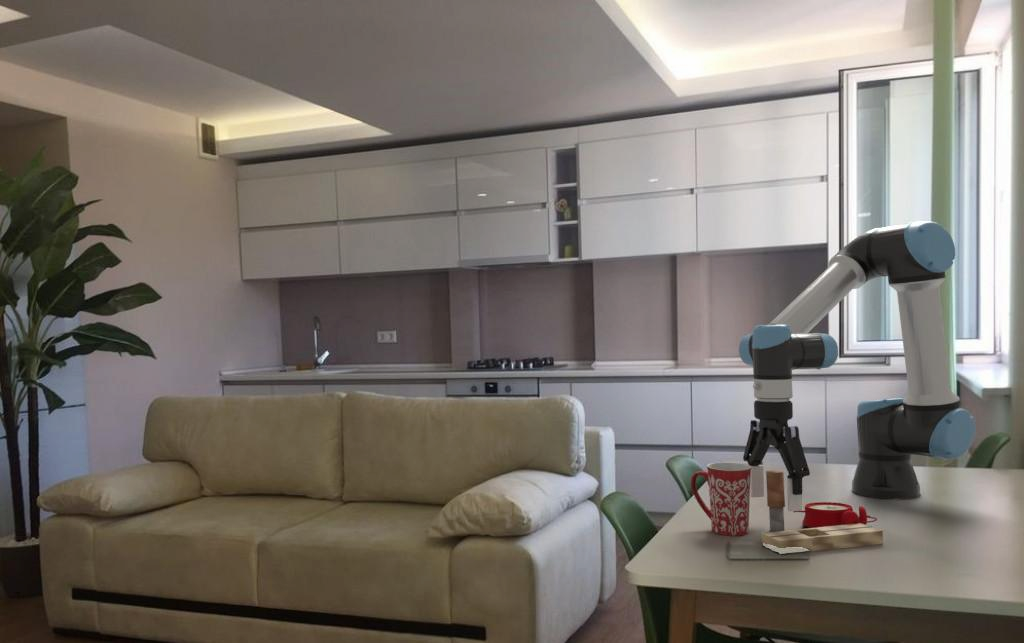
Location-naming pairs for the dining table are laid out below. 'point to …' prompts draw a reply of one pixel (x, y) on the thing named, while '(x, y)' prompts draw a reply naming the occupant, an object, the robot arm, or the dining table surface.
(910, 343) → the robot arm
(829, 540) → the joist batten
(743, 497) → the mug
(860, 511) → the alarm clock
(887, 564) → the dining table surface
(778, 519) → the wooden tool handle
